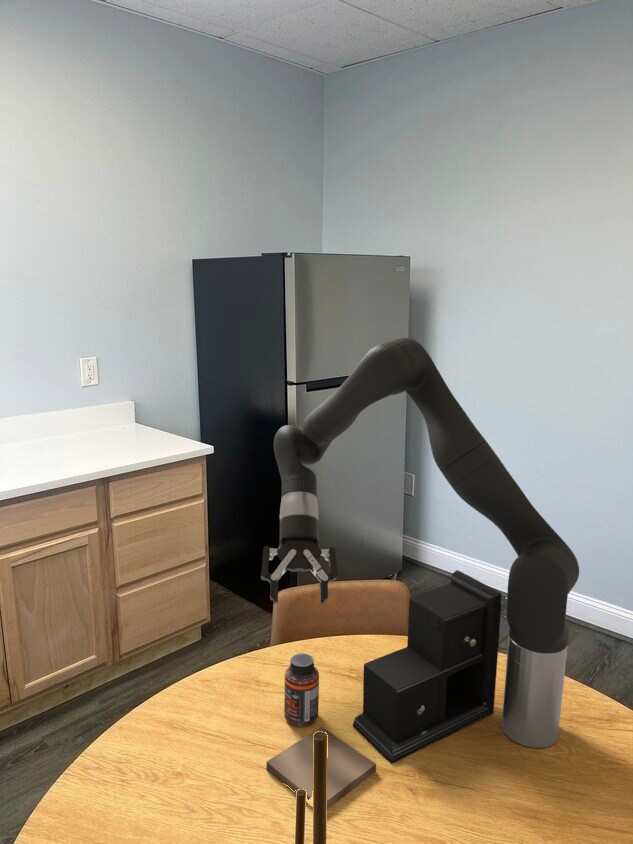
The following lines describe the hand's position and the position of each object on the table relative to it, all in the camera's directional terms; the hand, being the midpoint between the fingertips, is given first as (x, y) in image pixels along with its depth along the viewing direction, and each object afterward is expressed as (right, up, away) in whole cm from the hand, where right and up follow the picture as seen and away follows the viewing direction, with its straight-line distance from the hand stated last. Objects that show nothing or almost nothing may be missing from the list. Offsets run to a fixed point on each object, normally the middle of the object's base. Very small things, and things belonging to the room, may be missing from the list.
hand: (299, 603), depth 123 cm
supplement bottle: (+1, -18, -7) cm, 19 cm away
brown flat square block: (+4, -21, -19) cm, 29 cm away
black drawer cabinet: (+22, -19, -7) cm, 30 cm away
